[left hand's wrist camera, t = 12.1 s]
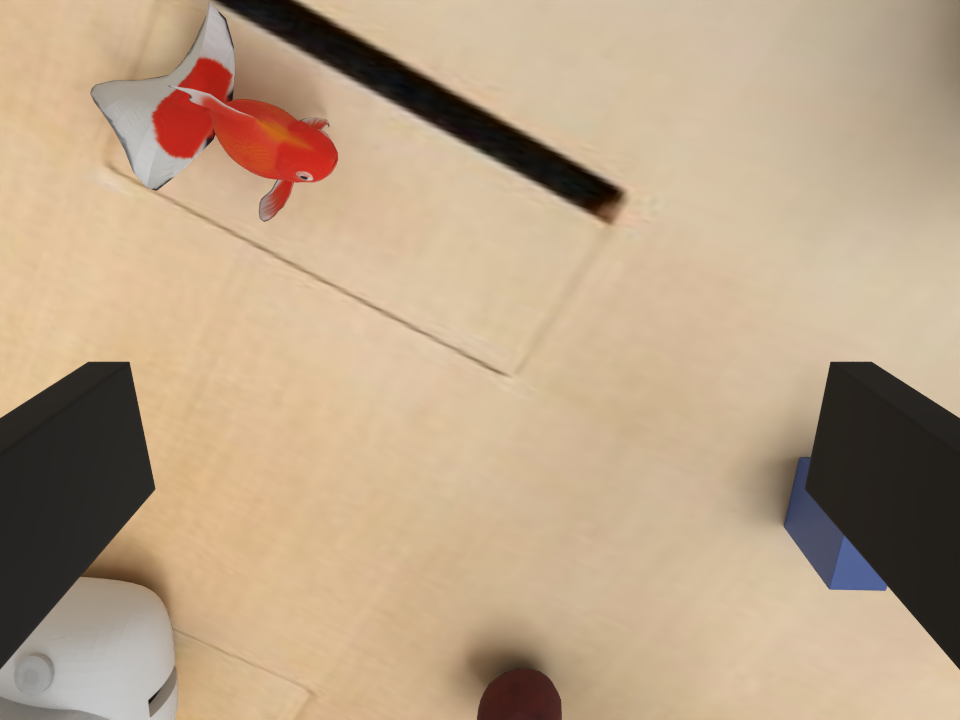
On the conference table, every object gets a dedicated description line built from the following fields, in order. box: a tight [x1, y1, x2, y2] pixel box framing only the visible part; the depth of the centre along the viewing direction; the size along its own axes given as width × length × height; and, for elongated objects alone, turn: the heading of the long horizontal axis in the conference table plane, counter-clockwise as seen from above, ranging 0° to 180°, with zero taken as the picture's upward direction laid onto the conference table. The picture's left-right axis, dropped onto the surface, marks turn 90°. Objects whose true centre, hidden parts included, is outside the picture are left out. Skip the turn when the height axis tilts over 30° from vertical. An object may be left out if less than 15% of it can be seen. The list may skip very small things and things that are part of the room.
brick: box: [784, 457, 887, 591], centre depth 50 cm, size 4×7×8 cm, turn 179°
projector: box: [0, 577, 178, 720], centre depth 52 cm, size 22×23×15 cm
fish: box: [90, 3, 338, 222], centre depth 40 cm, size 11×16×10 cm
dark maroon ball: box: [477, 669, 562, 720], centre depth 57 cm, size 7×8×7 cm
